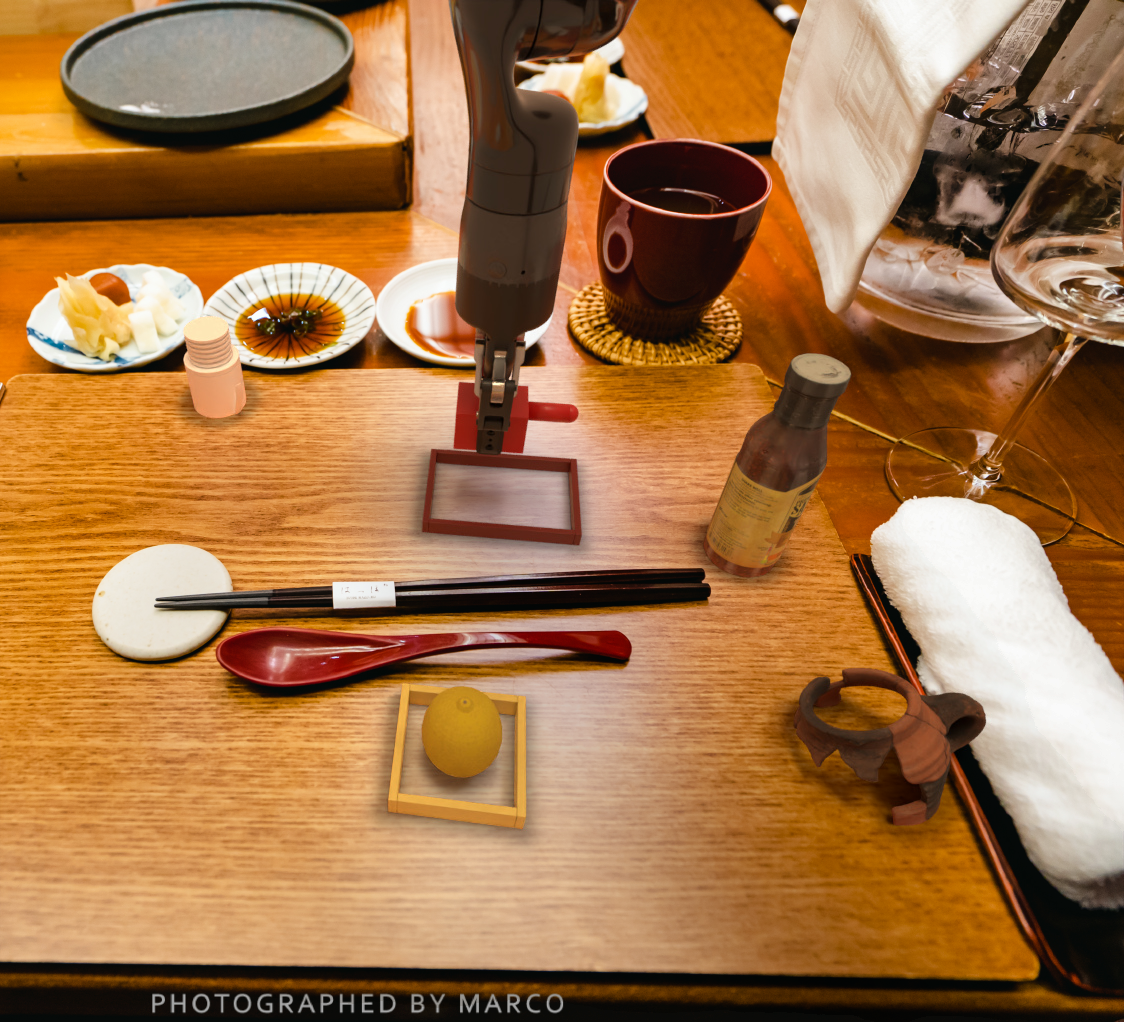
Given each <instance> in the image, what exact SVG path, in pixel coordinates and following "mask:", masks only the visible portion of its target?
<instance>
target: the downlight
mask: <svg viewBox="0 0 1124 1022" xmlns="http://www.w3.org/2000/svg"><path fill="white" fill-rule="evenodd" d="M229 326H230V325H229V323H228V322H227V320H225V319H224V318H222V317H219V316H213V315H212V316H211V315H210V316H200V317H197V318H194V319H192V320H191V321H189V322H187V323H186V324H185V325H184V327H183V331H182V332H183V336H184V340H185V346H186V349H187V351H186V352H185V354H184V356H183V364H184V368H185V369H184V370H185V373H186V377H187V382H188V386H189V391H190V395H191V399H192V404H193V408H194V411H196V413H198V414H199V415H201V416H202V417H204V418H205V417H206V418H209V419H210V418H211V419H222V418H226V417H230V416H233V415H234V416H235V415H238V414H239V413H241V412H242V410H243V408H244V407H245V405H246V403H247V394H246V388H245V382H244V376H243V369H242V364H241V363H242V362H241V358H240V352H239V349H238V348H237V347H236V346H235V345H234V344H232V340H231V339H232V338H231V334H230V333H231V332H230V327H229Z"/></svg>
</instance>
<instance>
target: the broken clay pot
mask: <svg viewBox="0 0 1124 1022" xmlns="http://www.w3.org/2000/svg"><path fill="white" fill-rule="evenodd" d="M841 677H842V679H841V680H836V681H833V682H831V678H830V677H829V676H817V677H815V678H814V679H812V680H810V681H809V682H808V684H807V685H806V686H805V687H804V688H802V691H801V693H800V694H799V698H798V704H799V706H798V708H797V709H796V711H795V713H794V717H793V728H794V729H795V733H796V734H795V735H796V736H797V738H798V739H799V740H800V741H802V743H803V744H804V745H805V746H806V748H807V750H808V753H809V754H810V756H811V759H812V761H813V763H814V764H815V766H816V768H817V769H818V768H821V767H822V765H823V762H825V760H826V759H827V758H829V757H830V756H831V755H833V754H834V752H836V751H837V750H838V752H839V753H838V754H839V757H840V759H841V760H842V761H843V762H844V764H845V765H847V767H849V768H850V769H851V770H853V772H854V773H855V775H856V776H857V777H858V778H859V779H860V780H863V781H866V782H870V783H877V782H879V769H880V768H881V767H882V765H883V764H884V762H885V759H886V757H887V756H888V754H889V753H890V752H891V750H892V751H893V752H894V754H895V756H896V757H897V759H898V762H899V767H900V772H901V775H902V777H903V778H904V779H905V780H906V781H907V782H908V783H909V784H911V785H919V786H918V787H919V788H920V792H921V796H920V798H919V799H917V800H914V801H913V802H910V803H909V802H908V803H907V804H902V805H898V806H893V807H892V808H891V811H890V813H891V816H892V824H893V825H894V826H916V825H917V826H918V825H920V824H923V823H925V822H926V821H929V820H930V819H931V818H932V817H934V816H935V814H937V811H938V809H939V807H940V805H941V799H942V797H943V796H942V795H943V793H944V792H943V791H944V788H945V785H946V783H947V777H948V775H949V772H950V767H951V760H952V759H951V758H952V754H953V753H954V752H956V751H957V750H959V749H961V748H963V747H965V746H967V745H968V744H970V743H972V742H973V741H974V740H975V739H976V738H977V737H978V736H979V735H980V734H981V733H982V732H984V729H985V727H986V725H987V717H986V712H985V708H984V706H983V705H982V704H981V703H980V702H979V701H977V700H976V699H974V698H973V697H971V696H970V695H968V694H966V693H962V692H956V691H955V692H953V691H952V692H944V693H940V694H939V693H938V694H934V695H933V694H932V695H925V694H920V693H919V691H918V690H917V688H915V687H914V685H913V684H912V683H910V682H909V681H908V680H906V679H904V678H903V677H901V676H898V675H897V674H895V673H891V672H888V671H885V670H881V669H878V668H877V669H876V668H870V667H848V668H844V669H843V668H842V670H841ZM852 687H853V688H854V687H873V688H880V689H884V690H888V691H892V692H894V693H897V694H899V695H900V696H902V697H903V699H905V700H906V703H907V706H906V710H905V712H904V714H903V715H902V716H901V717H900V718H899V719H897V720H895V721H894V722H892V723H891V724H889V725H887V726H886V727H881V728H876V729H870V730H850V729H843V728H839V727H836V726H833V725H831V724H829V723H827V722H826V721H824V720H822V719H821V718H819V716H817V715H816V713H815V711H814V705H815V706H816V707H818V708H820V709H822V708H829V707H835V706H837V705H839V703H840V702H841V701H842V695H841V690H842V689H846V688H852Z"/></svg>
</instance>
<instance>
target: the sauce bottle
mask: <svg viewBox="0 0 1124 1022" xmlns="http://www.w3.org/2000/svg"><path fill="white" fill-rule="evenodd" d="M851 377H852V373H851V370H850V367H848V366H847V365H846V364H845V363H843V362H842V361H841V360H838V359H836V358H835V357H832V356H829V355H826V354H821V353H802V354H799V355H797V356H794V357H793V359H791V360H790V363H789V365H788V367H787V369H786V371H785V373H784V379H783V383H784V385H783V387H782V389H781V391H780V393H779V396H778V399H777V400H776V401H775V402H774V404H773V409H772V410H771V411H770V412H769V413H767V414H765V415H763V416H761V417H760V418H758V419H757V420H756V421H755V422H754V423H753V424H752V425H751V426H750V427H749V429H748V430H747V432H746V433H745V437H743V438H744V439H743V442H742V444H741V447H740V449H739V451H738V453H736V455H735V458H734V460H733V463H732V466H731V468H730V471H729V474H728V476H727V478H726V481H725V483H724V486H723V487H722V491H721V493H720V496H719V498H718V501H717V504H716V505H715V508H714V512H713V514H712V517H711V518H710V522H709V524H708V526H707V530H706V531H705V532H706V533H705V534H706V536H705V538H704V541H703V549H704V552H705V554H706V556H707V557H708V558H709V560H711V562H712V563H713V564H714V565H715V566H716V567H717V568H718V569H719V570H721V571H724V572H726V573H728V574H731V575H733V576H737V577H739V578H753V577H754V578H755V577H759V576H764V575H765V576H766V574H768V572H770V571H771V570H772V568H773V567H774V566H775V564H776V563H777V562H778V561H779V560H780V559H781V557H782V554H783V552H784V551H785V548H786V546H787V545H788V542H789V541H790V538H791V536H792V534H793V533H794V531H795V529H796V527H797V525H798V523H799V521H800V519H801V517H802V515H803V513H804V511H805V510H806V507H807V506H808V504H809V502H810V499H811V497H812V494H814V491H815V488H816V487H817V485H818V483H819V480H820V479H821V477H822V475H823V473H824V471H825V469H826V467H827V463H828V423H829V421H830V417H831V415H832V412H833V410H834V408H835V406H836V405H837V402H838V399H839V397H841V396H842V395H843V394H844V393H845V392H846V390H847V387H848V385H849V382H850V381H851Z"/></svg>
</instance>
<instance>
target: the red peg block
mask: <svg viewBox="0 0 1124 1022" xmlns="http://www.w3.org/2000/svg"><path fill="white" fill-rule="evenodd" d="M457 385H458V387H457V395H456V396H457V398H456V407H455V421H454V435H453V446H452V447H453V450H463V451H476V441H477V431H478V430H477V426H478V425H476V419H478V417H476V412H477V411H478V409H479V397H478V396H476V395H475V393H474V385H475V382H470V381H469V382H468V381H467V382H466V381H459V382H458V384H457ZM579 415H580V413H579V409H578V407H577V406H576V405H574V404H571V403H561V402H544V401H529V386H528V385H518V390H517V395H516V397H515V398H513V404H512V410H511V416H510V421H511V422H510V427H508V432H506V431H504V438H503V446H502V452H501V453H505V454H519V455H524V451H525V443H526V438H527V430H528V424H529V421H533V422H534V421H535V422H549V423H561V424H563V423H564V424H571V423H574V422H576V421H577V419H578V418H579Z"/></svg>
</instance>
